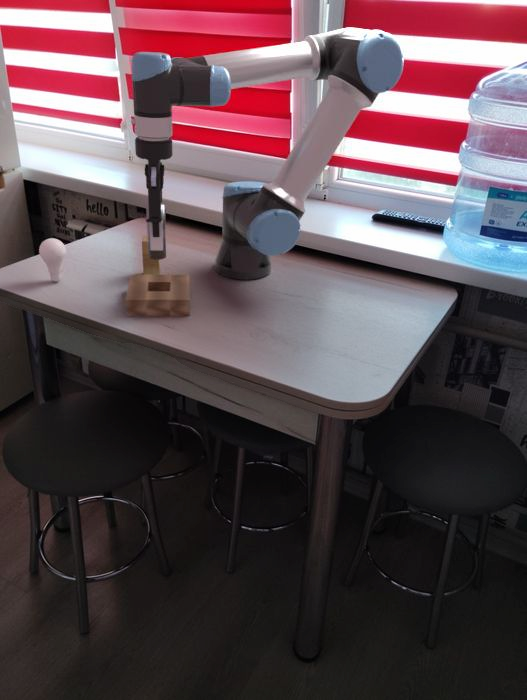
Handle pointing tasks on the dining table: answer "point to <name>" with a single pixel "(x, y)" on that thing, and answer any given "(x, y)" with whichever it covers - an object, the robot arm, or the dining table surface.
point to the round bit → (162, 253)
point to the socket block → (158, 295)
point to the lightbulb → (53, 257)
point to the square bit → (149, 260)
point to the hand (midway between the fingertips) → (157, 245)
